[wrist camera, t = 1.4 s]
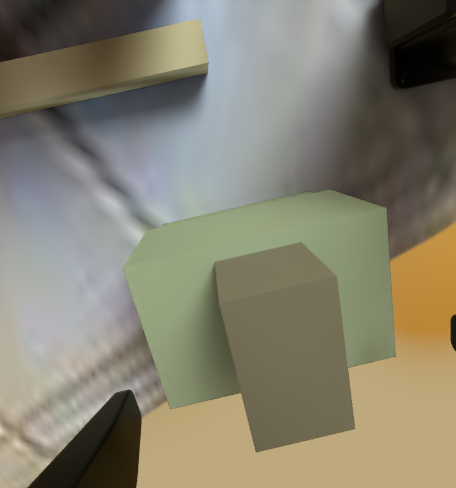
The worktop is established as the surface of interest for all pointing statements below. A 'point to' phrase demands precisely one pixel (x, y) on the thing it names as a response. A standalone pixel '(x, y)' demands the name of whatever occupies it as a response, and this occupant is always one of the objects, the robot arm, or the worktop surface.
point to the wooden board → (102, 68)
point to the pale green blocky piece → (268, 309)
